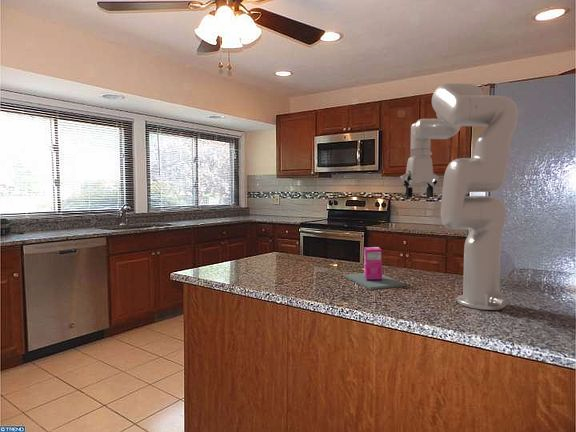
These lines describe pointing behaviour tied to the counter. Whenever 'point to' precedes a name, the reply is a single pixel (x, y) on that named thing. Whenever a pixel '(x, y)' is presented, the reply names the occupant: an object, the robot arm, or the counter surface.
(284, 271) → the counter surface
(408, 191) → the robot arm
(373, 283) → the rubber mat
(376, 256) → the supplement box
